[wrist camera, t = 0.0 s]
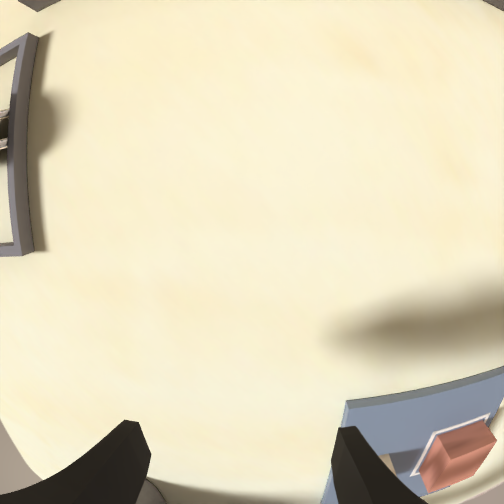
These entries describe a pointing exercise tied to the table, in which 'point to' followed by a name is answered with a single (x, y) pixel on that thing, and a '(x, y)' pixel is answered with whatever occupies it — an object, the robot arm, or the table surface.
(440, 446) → the base block
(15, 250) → the frame
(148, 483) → the flask
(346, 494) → the robot arm
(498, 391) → the board
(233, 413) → the table surface
